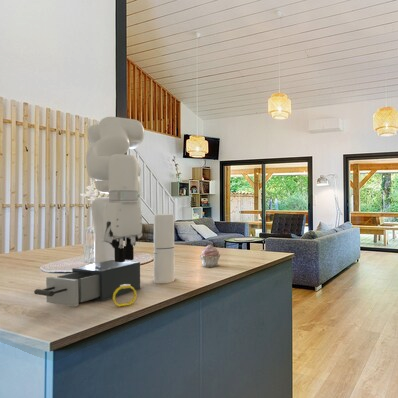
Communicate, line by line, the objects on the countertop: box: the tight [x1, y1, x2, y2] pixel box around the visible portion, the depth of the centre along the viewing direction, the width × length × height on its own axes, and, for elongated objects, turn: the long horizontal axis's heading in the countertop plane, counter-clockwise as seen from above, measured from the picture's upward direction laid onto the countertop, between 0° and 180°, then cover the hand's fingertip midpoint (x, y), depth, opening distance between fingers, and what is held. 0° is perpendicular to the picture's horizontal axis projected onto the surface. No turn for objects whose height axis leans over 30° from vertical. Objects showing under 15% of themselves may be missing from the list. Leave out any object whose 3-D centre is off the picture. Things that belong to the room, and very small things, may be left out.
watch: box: [112, 284, 137, 308], centre depth 94 cm, size 6×3×6 cm, turn 130°
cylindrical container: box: [153, 213, 175, 284], centre depth 121 cm, size 7×7×25 cm
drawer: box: [33, 272, 100, 307], centre depth 96 cm, size 18×11×7 cm, turn 161°
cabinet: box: [71, 260, 141, 302], centre depth 107 cm, size 15×13×9 cm
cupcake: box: [199, 243, 221, 268], centre depth 147 cm, size 9×9×10 cm
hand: (124, 260), depth 94 cm, fingers closed
